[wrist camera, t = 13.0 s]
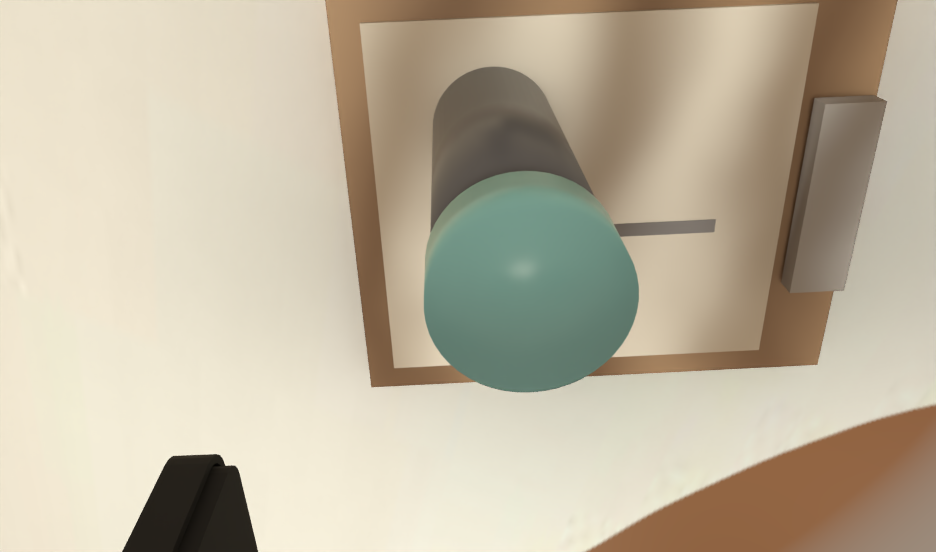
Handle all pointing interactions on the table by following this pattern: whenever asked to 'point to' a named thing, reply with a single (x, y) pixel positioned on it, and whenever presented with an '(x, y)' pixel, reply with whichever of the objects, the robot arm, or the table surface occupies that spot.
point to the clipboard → (633, 158)
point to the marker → (519, 243)
